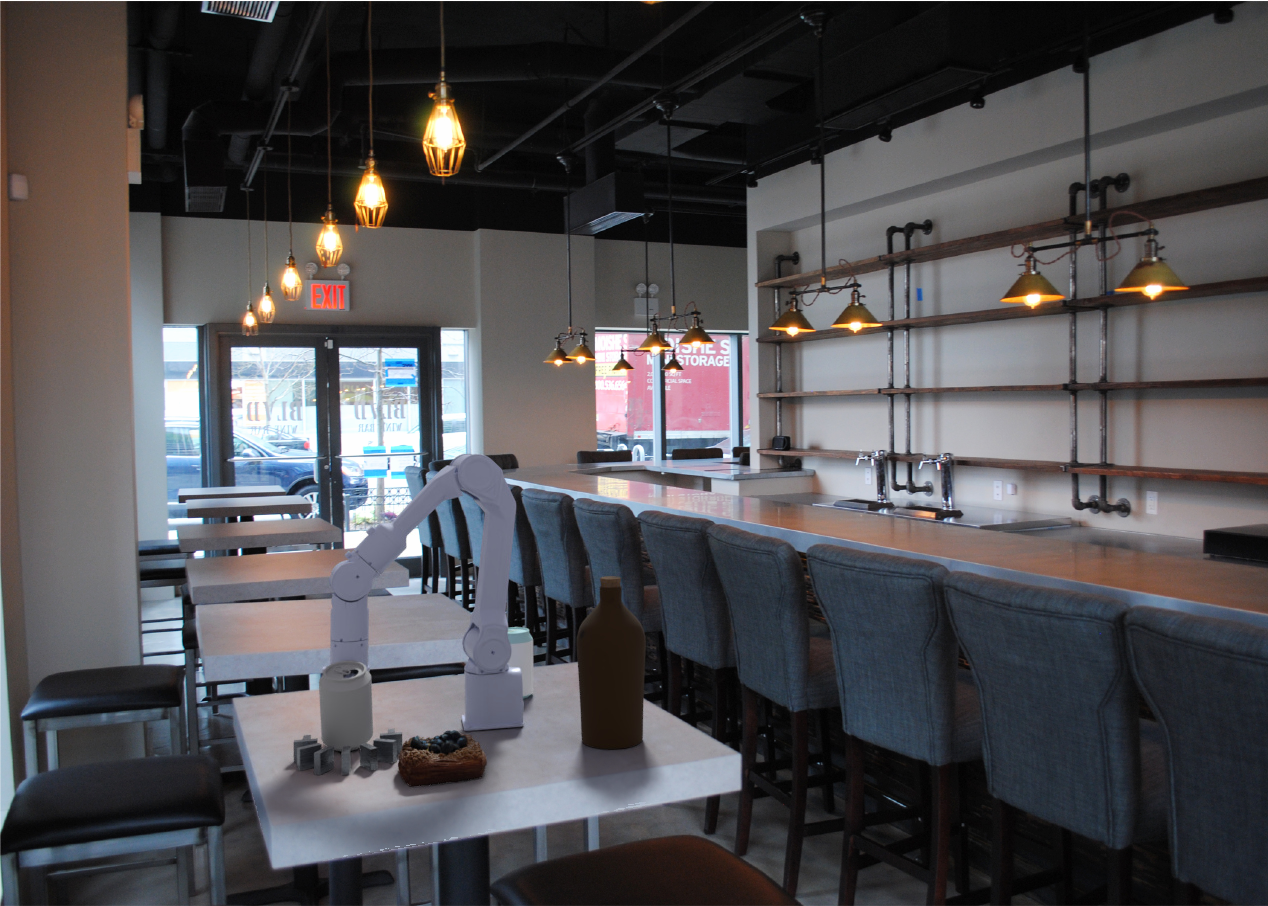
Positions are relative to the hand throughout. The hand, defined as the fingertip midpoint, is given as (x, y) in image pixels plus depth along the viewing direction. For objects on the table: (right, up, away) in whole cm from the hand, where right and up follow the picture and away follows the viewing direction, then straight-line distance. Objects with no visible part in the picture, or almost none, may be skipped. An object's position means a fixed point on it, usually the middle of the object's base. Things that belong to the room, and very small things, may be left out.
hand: (348, 726), depth 149 cm
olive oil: (+41, -2, -2) cm, 41 cm away
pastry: (+18, -3, -15) cm, 23 cm away
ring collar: (+3, -2, -11) cm, 12 cm away
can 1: (+1, -1, -3) cm, 4 cm away
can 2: (+23, -2, +25) cm, 34 cm away
